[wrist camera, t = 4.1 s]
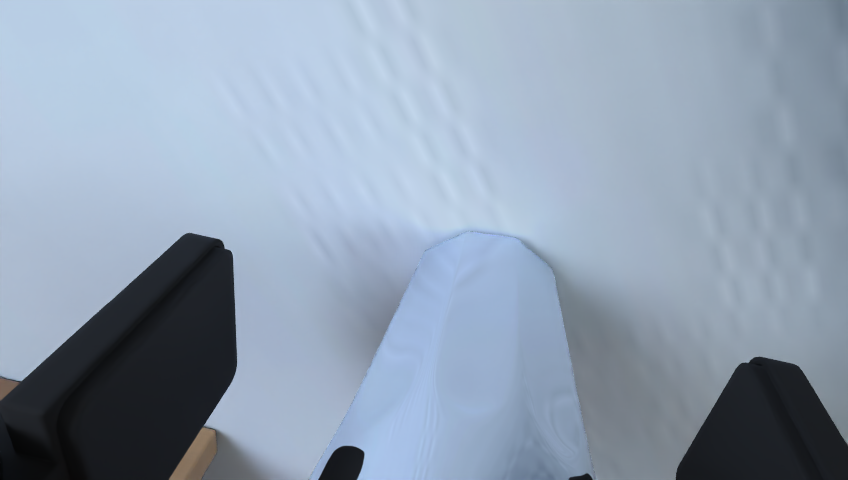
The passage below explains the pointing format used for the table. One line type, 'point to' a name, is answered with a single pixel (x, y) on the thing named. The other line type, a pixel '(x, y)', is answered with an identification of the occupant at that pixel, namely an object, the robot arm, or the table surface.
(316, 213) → the table surface
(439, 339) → the milkshake
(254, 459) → the table surface
